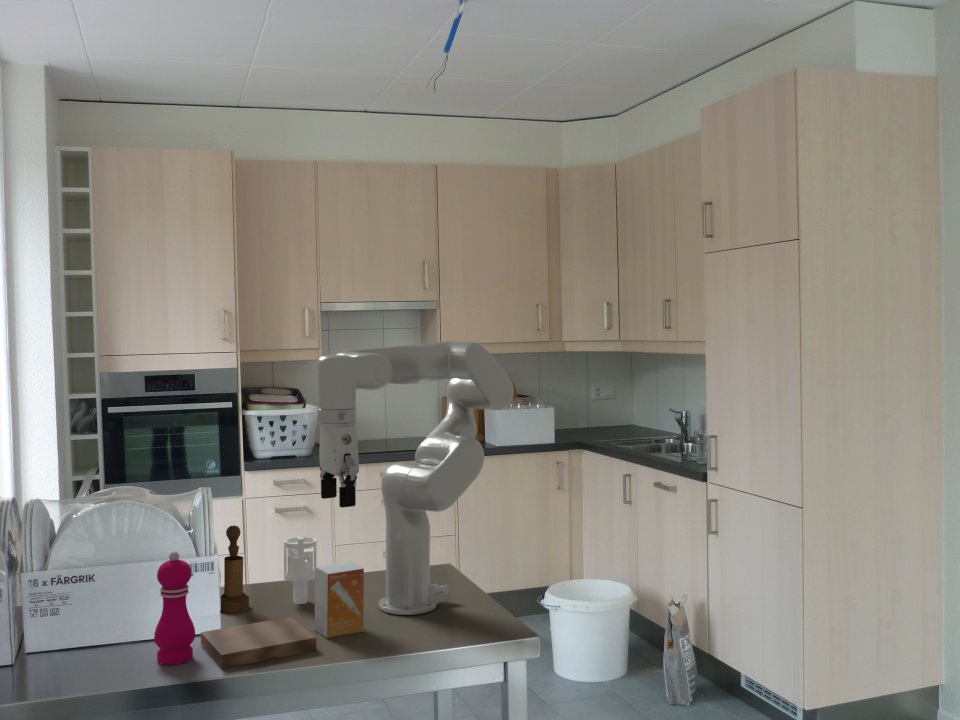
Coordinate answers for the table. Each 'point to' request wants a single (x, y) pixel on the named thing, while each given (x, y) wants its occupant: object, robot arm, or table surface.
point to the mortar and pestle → (233, 577)
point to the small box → (339, 599)
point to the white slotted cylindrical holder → (299, 565)
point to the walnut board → (257, 642)
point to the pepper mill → (174, 613)
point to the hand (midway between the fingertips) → (338, 502)
